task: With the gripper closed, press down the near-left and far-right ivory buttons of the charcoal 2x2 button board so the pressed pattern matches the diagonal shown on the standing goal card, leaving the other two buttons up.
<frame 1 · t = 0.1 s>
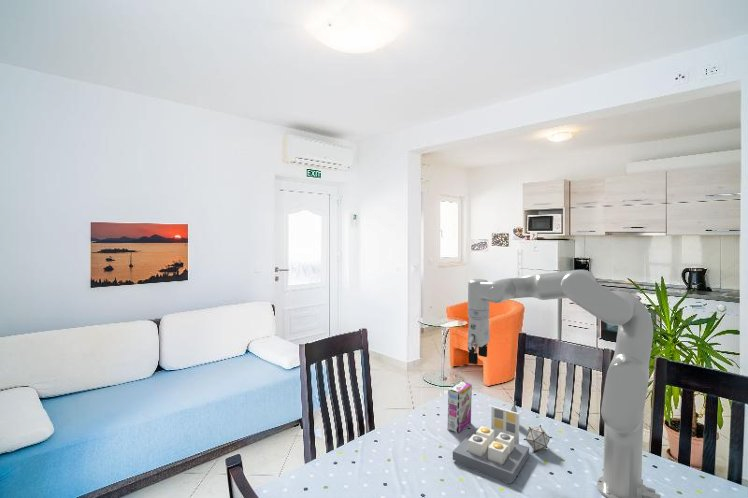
hand: (478, 359, 140), 31 cm above the table, fingers open, 9 cm apart
candy bar box: (459, 427, 153), on the table
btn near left: (497, 453, 126), point 5 cm above the table, slide at 0.0 cm
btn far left: (477, 446, 130), point 5 cm above the table, slide at 0.0 cm
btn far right: (485, 437, 135), point 5 cm above the table, slide at 0.0 cm
game die: (537, 449, 137), on the table
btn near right: (505, 443, 131), point 5 cm above the table, slide at 0.0 cm
board: (491, 459, 131), on the table
goal card: (504, 441, 142), on the table
pocket watch: (508, 425, 154), on the table
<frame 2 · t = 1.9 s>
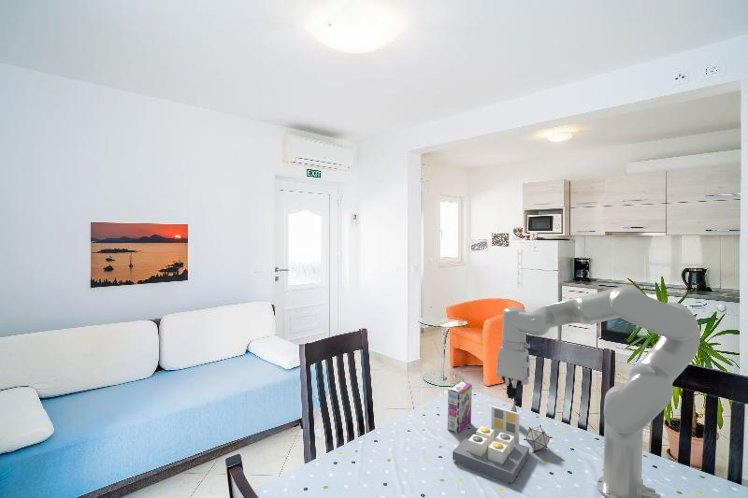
hand: (511, 397, 130), 21 cm above the table, fingers closed
nothing on the table moved.
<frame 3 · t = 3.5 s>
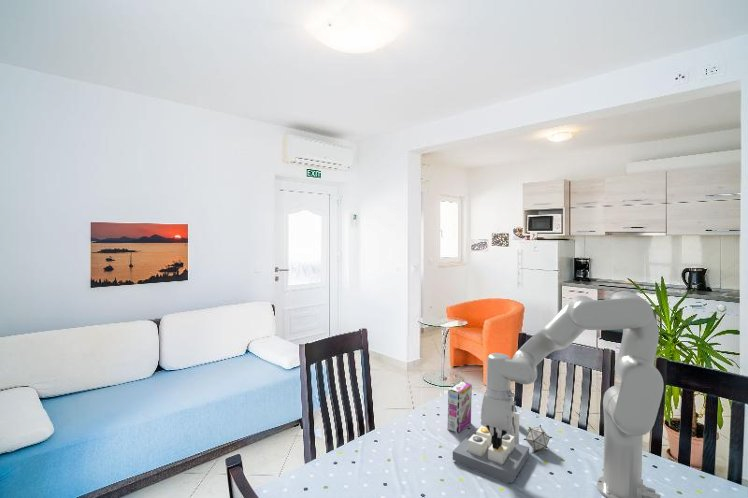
hand: (496, 446, 126), 7 cm above the table, fingers closed
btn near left: (497, 455, 126), point 4 cm above the table, slide at 0.6 cm, touching gripper
everything else where it was.
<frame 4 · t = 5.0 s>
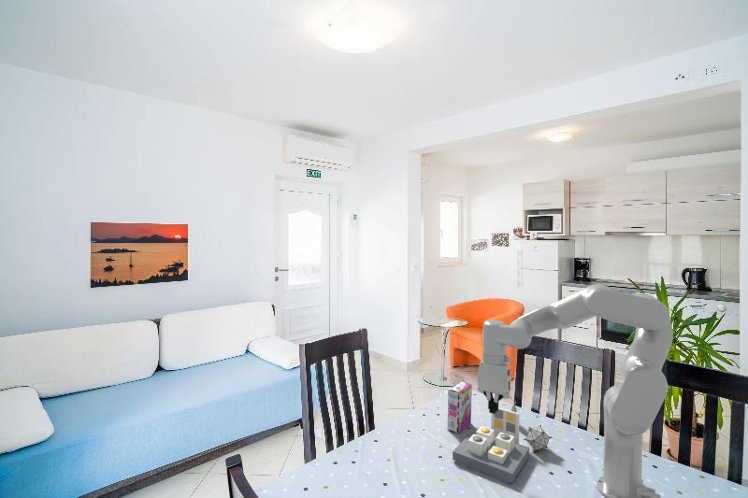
hand: (493, 411, 128), 17 cm above the table, fingers closed
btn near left: (497, 458, 126), point 3 cm above the table, slide at 1.7 cm
everything else where it was.
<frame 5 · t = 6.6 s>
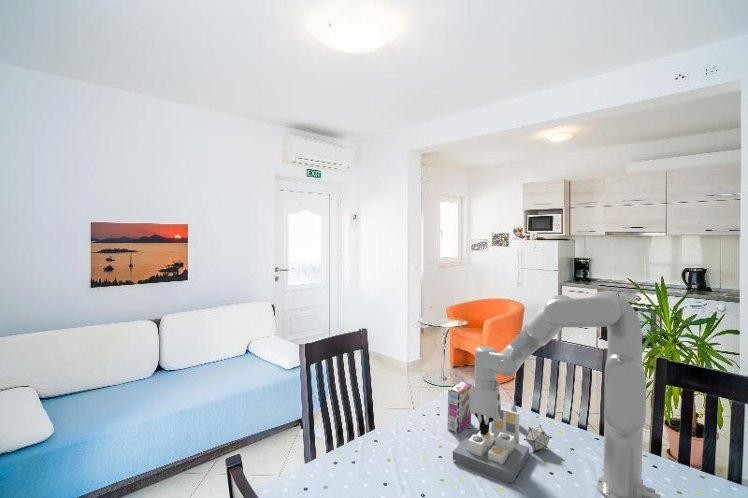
hand: (484, 433, 135), 6 cm above the table, fingers closed
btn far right: (485, 440, 135), point 4 cm above the table, slide at 1.3 cm, touching gripper
everything else where it was.
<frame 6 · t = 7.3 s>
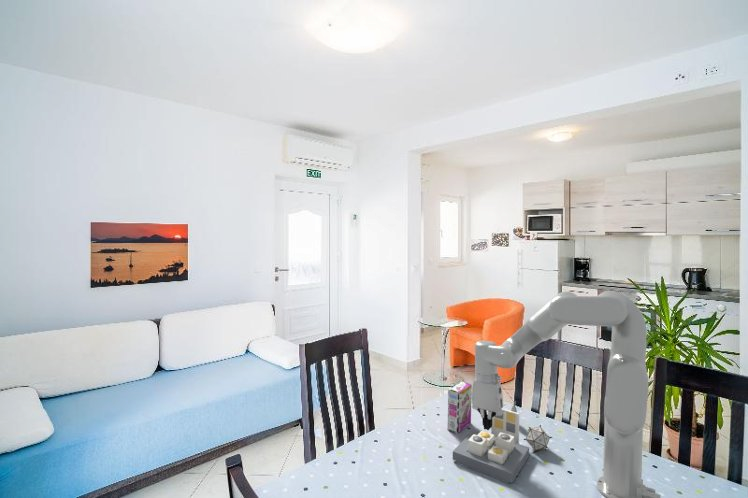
hand: (487, 428, 135), 9 cm above the table, fingers closed
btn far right: (485, 442, 135), point 3 cm above the table, slide at 1.7 cm
everything else where it was.
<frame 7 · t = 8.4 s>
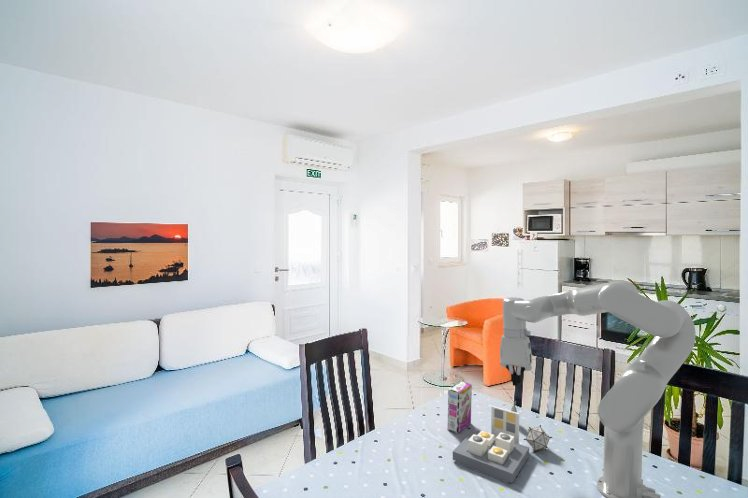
hand: (516, 384, 135), 24 cm above the table, fingers closed
nothing on the table moved.
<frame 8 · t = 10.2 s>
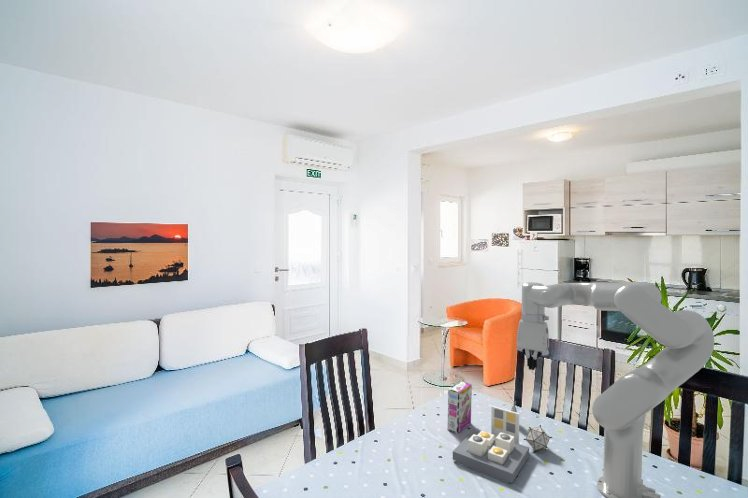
hand: (532, 368, 136), 29 cm above the table, fingers closed
nothing on the table moved.
at the end: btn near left slide at 1.7 cm; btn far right slide at 1.7 cm; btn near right slide at 0.0 cm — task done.
